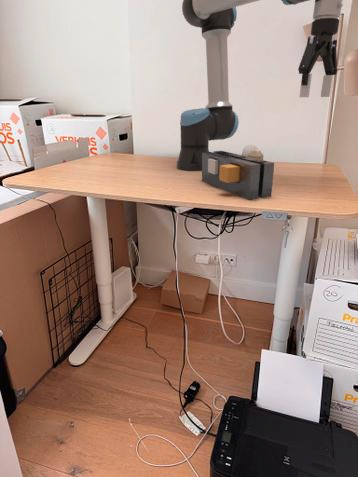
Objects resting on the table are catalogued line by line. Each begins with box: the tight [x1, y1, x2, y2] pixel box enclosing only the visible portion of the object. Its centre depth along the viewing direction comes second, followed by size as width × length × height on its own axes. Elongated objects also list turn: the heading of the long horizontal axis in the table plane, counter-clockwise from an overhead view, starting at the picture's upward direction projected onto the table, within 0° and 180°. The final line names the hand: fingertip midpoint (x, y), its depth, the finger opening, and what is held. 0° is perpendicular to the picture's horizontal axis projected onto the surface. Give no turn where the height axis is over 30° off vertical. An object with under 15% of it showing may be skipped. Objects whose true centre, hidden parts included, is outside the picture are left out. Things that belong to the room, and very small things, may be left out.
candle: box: [248, 150, 264, 160], centre depth 121 cm, size 6×6×10 cm
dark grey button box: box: [201, 150, 275, 201], centre depth 108 cm, size 8×28×10 cm, turn 26°
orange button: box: [219, 164, 240, 183], centre depth 101 cm, size 4×4×4 cm
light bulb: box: [241, 143, 260, 157], centre depth 130 cm, size 7×7×11 cm
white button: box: [208, 158, 219, 174], centre depth 112 cm, size 4×4×4 cm
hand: (314, 97), depth 108 cm, fingers open, 13 cm apart
